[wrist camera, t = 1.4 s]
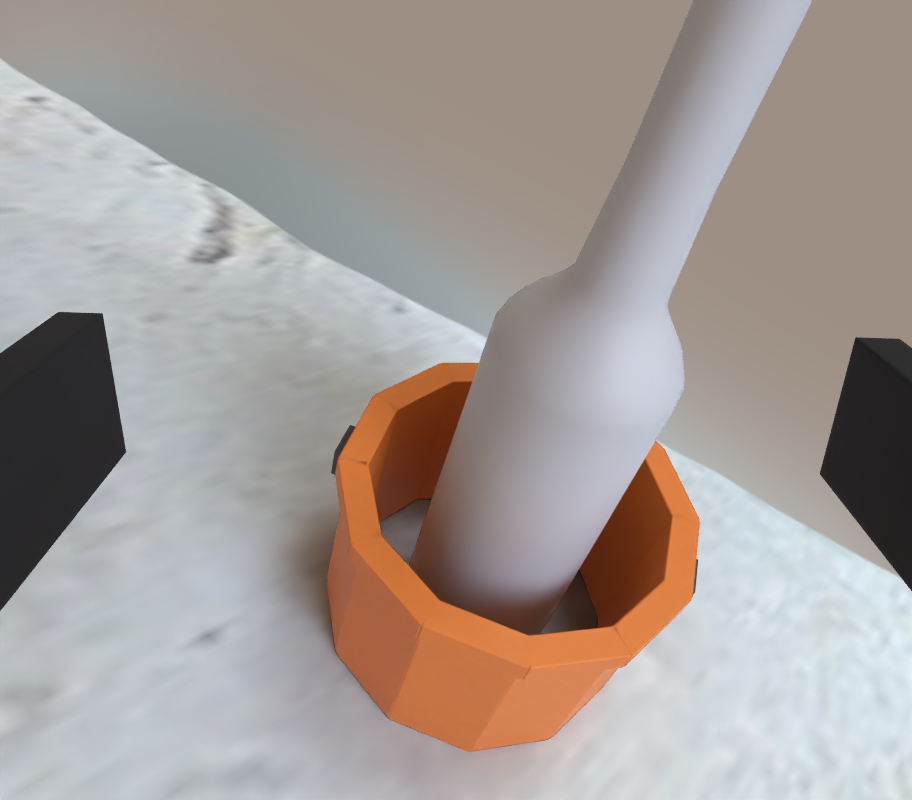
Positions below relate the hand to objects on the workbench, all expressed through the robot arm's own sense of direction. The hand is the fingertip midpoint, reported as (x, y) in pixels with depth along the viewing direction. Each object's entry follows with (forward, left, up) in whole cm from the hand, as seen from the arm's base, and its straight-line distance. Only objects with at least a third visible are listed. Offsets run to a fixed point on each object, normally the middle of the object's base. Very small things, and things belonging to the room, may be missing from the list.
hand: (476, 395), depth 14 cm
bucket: (-4, +9, -22) cm, 24 cm away
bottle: (-4, +9, -22) cm, 24 cm away
